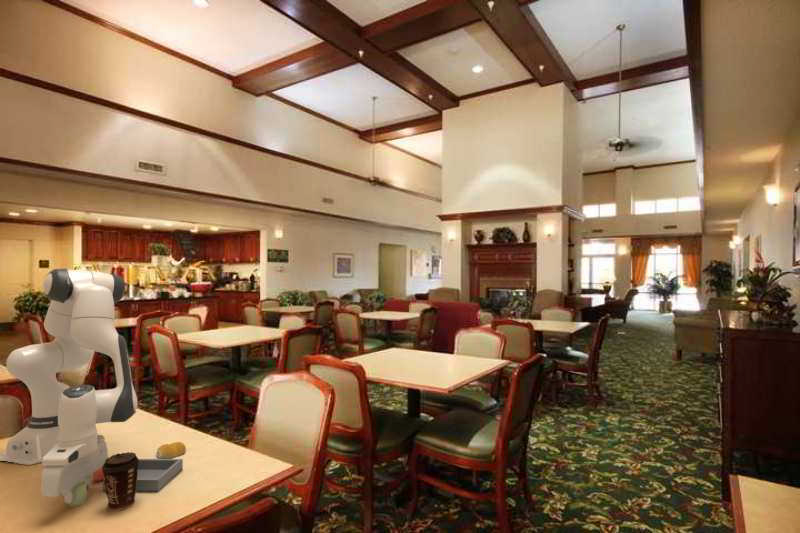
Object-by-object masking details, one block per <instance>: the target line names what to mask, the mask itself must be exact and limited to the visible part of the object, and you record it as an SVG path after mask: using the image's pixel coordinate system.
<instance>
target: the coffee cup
mask: <svg viewBox="0 0 800 533" xmlns="http://www.w3.org/2000/svg"><path fill="white" fill-rule="evenodd" d="M139 459H140V458H138V456H137V455H136V453H134V452H132V451H131V452H121V453H116V454H112V455H111V456H108V459H106V460H105V463H104V465H103V466H102V471H103V474H104V477H105V478H104V479H103V480H104V486H105V492H104V493H105V494H106V497H107V500H108V503H107V506H106V509H107V510H108V511H112V512H118V511H122V510H124V509H126V508H130V507H131V506H132V505H133V504H134V503H135V501H136V500H135V499H136V498H135V497H136V492H135V491H136V487H137V475H138V474H137V469H138V464H139V462H138V460H139Z"/></svg>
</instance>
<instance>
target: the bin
mask: <svg viewBox="0 0 800 533" xmlns="http://www.w3.org/2000/svg"><path fill="white" fill-rule="evenodd" d="M138 459H139V460H138V462H139V464H138V469H137V474H138V475H137V487H136V491H135V493H159V492H160V491H161V490H162V489H164V487H166V486H167V485H168V484H169V483H170V482H171V481H172V480H173V479H174V478H176V476H178V475H179V474H180V473H181V472H182V471H183V468H184V467H183V466H184V465H183V460H184V459H183V458H170V459H159V458H138ZM102 485H103V486H102V488H103V490H102V492H103V493H105V486H104V479H102Z"/></svg>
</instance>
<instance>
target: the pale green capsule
mask: <svg viewBox="0 0 800 533" xmlns="http://www.w3.org/2000/svg"><path fill="white" fill-rule="evenodd" d="M71 492H72V494H75V500H74V501H72V502H71V503H67V504H68V507H70V508H76V507H78V506H79V507H80V506H81V505H84V504H85V503H87V491H86V482H84V481H83V480H81V481H80V482H78V483H77V484H75V485H74V486H73V489H72V490H71Z"/></svg>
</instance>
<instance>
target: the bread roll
mask: <svg viewBox="0 0 800 533" xmlns="http://www.w3.org/2000/svg"><path fill="white" fill-rule="evenodd" d="M186 448H187V447H186V445H185V443H183V442H182V441H181V442H180V441H177V442H172V443H169V444H162V445H160V446H159V447H158V448H157V450H156V454H155V455H156V457H157V459H169V458H170V459H174V458H176V457H181V456H182V455H183V454H185V452H186V450H187V449H186Z"/></svg>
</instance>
